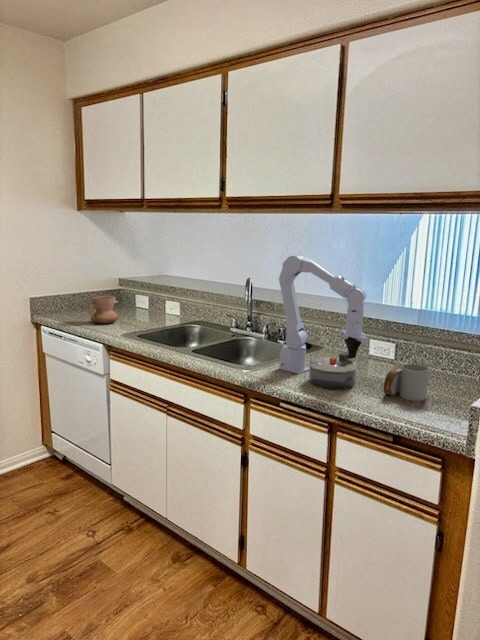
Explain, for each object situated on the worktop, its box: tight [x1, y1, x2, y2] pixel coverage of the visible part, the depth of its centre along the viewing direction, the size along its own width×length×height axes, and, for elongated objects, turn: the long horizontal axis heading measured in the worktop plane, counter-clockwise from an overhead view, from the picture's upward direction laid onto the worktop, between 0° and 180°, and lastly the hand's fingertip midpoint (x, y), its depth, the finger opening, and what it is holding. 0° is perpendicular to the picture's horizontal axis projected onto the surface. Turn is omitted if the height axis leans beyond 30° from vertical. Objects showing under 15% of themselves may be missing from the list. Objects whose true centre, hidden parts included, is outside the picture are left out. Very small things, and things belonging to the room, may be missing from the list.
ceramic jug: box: [88, 295, 119, 325], centre depth 265 cm, size 18×14×14 cm
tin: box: [383, 365, 402, 396], centre depth 165 cm, size 15×3×8 cm, turn 141°
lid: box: [309, 351, 358, 373], centre depth 175 cm, size 21×16×3 cm
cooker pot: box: [308, 359, 357, 391], centre depth 176 cm, size 16×21×6 cm
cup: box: [399, 363, 430, 402], centre depth 161 cm, size 8×8×10 cm
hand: (352, 358), depth 178 cm, fingers closed
